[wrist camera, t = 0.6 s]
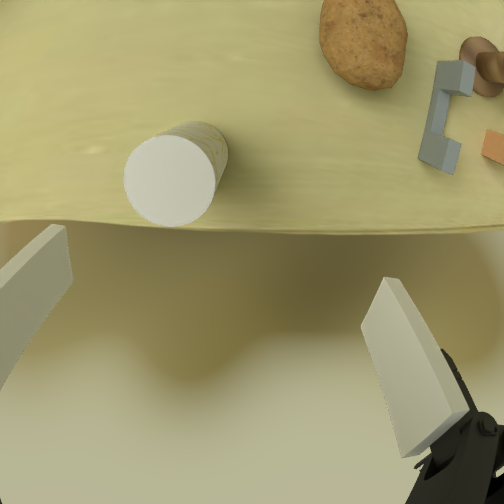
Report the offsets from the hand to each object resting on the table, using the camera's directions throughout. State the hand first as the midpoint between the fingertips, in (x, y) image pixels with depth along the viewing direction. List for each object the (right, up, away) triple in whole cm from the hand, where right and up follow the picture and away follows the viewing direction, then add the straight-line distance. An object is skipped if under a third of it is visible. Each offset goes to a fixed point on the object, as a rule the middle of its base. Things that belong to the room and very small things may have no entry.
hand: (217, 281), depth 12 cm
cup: (-6, +13, +23) cm, 27 cm away
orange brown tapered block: (+37, +17, +20) cm, 45 cm away
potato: (+13, +26, +16) cm, 33 cm away
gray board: (+25, +19, +19) cm, 37 cm away
